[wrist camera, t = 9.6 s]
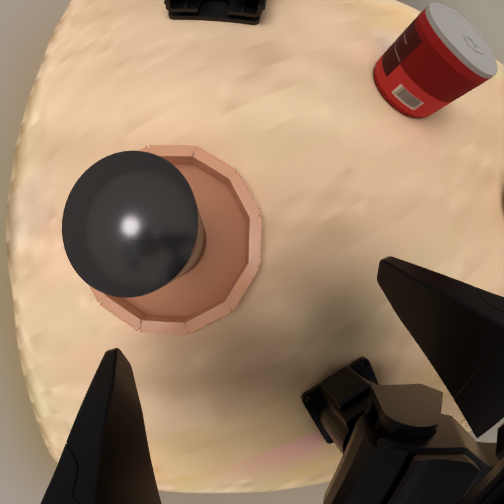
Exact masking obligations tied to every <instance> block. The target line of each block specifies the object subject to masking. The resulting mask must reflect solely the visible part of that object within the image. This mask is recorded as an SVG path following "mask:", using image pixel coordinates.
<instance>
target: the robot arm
mask: <svg viewBox="0 0 504 504" xmlns="http://www.w3.org/2000/svg"><path fill="white" fill-rule="evenodd" d="M377 281H378V284H379V286H380V287H381V289H382V290H383V292H384V294H385V295H386V297H387V299H388V300H389V302H390V304H391V305H392V307H393V309H394V311H395V312H396V314H397V315H398V317H399V318H400V320H401V321H402V323H403V324H404V325H405V327H406V328H407V330H408V331H409V332H410V334H411V335H412V337H413V338H414V339H415V341H416V342H417V344H418V345H419V347H420V348H421V349H422V351H423V352H424V354H425V355H426V357H427V358H428V360H429V361H430V363H431V364H432V366H433V367H434V369H435V370H436V372H437V373H438V375H439V376H440V378H441V379H442V381H443V383H444V384H445V386H446V387H447V389H448V390H449V392H450V394H451V395H452V397H453V398H454V400H455V402H456V404H457V405H458V407H459V409H460V410H461V412H462V414H463V415H464V417H465V419H466V420H467V422H468V424H469V426H470V427H471V429H472V431H473V433H474V434H475V436H476V437H477V438H478V437H480V436H481V435H482V434H484V433H485V432H486V431H488V430H489V429H490V428H491V427H493V426H494V425H495V424H496V423H498V422H499V421H500V420H501V419H502V418H504V297H502V296H499V295H496V294H493V293H490V292H487V291H485V290H482V289H480V288H477V287H474V286H472V285H469V284H466V283H464V282H461V281H459V280H456V279H453V278H450V277H448V276H445V275H442V274H440V273H437V272H434V271H431V270H429V269H426V268H423V267H420V266H417V265H415V264H412V263H409V262H406V261H403V260H400V259H397V258H394V257H391V256H389V257H386V258H384V259H382V260H381V261H380V263H379V268H378V274H377ZM363 361H364V364H363V365H361V364H362V362H363ZM307 397H310V398H309V399H308V400H305V399H306V398H307ZM442 397H443V393H442V392H441V391H438V390H436V389H433V388H430V387H428V386H425V385H422V384H406V385H379V384H378V382H377V379H376V377H375V374H374V372H373V369H372V367H371V365H370V362H369V360H368V359H367V358H365V357H361V358H359V359H358V360H356V361H355V362H353V363H352V364H350V365H349V366H347V367H344V368H343V369H341V370H339V371H338V372H336V373H335V374H333V375H332V376H330V377H328V378H327V379H325V380H324V381H322V382H321V384H319V385H317V386H316V387H314V388H312V389H311V390H309V391H307V392H305V393H304V394H303V395H302V396H301V400H302V402H303V404H304V405H305V407H306V409H307V410H308V412H309V414H310V415H311V417H312V419H313V420H314V422H315V424H316V425H317V427H318V429H319V430H320V432H321V434H322V435H323V437H324V439H325V440H326V442H327V443H329V444H330V443H333V442H334V443H335V444H336V445H337V447H338V448H339V450H340V451H341V452H342V454H343V456H342V459H341V461H340V463H339V465H338V468H337V470H336V472H335V474H334V476H333V478H332V480H331V482H330V484H329V487H328V488H327V490H326V493H325V495H324V502H323V503H324V504H504V422H503V424H502V425H501V426H500V427H499V428H498V434H497V443H482V442H477V441H475V440H474V439H473V438H472V437H471V436H470V434H469V433H468V432H467V431H466V430H465V429H464V428H463V427H462V426H461V425H460V424H459V423H458V422H457V421H456V420H455V419H454V418H453V417H452V416H449V415H444V414H441V408H442ZM330 438H331V439H330ZM41 504H161V501H160V497H159V493H158V489H157V485H156V480H155V476H154V472H153V467H152V462H151V458H150V453H149V448H148V442H147V437H146V431H145V425H144V419H143V413H142V408H141V404H140V400H139V396H138V392H137V388H136V384H135V380H134V375H133V371H132V367H131V365H130V363H129V361H128V360H127V359H126V357H125V356H124V355H123V353H122V352H121V350H120V349H118V348H115V349H111V350H108V351H106V352H105V354H104V356H103V358H102V360H101V363H100V365H99V367H98V369H97V371H96V373H95V375H94V378H93V380H92V382H91V384H90V386H89V389H88V391H87V393H86V395H85V398H84V400H83V402H82V405H81V407H80V409H79V412H78V414H77V417H76V419H75V422H74V424H73V426H72V429H71V432H70V434H69V437H68V439H67V444H65V447H64V450H63V452H62V455H61V457H60V460H59V463H58V465H57V468H56V470H55V472H54V475H53V477H52V479H51V481H50V484H49V486H48V488H47V490H46V493H45V495H44V497H43V499H42V502H41Z"/></svg>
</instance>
